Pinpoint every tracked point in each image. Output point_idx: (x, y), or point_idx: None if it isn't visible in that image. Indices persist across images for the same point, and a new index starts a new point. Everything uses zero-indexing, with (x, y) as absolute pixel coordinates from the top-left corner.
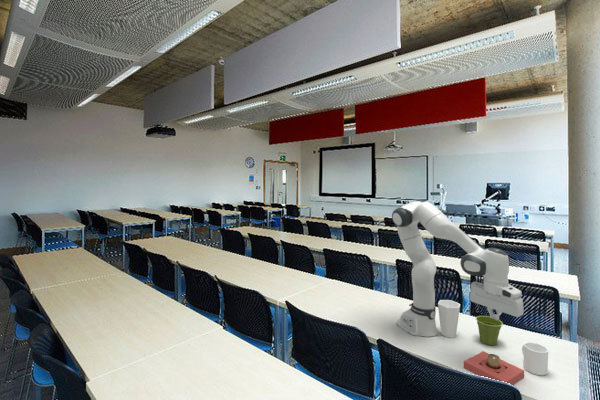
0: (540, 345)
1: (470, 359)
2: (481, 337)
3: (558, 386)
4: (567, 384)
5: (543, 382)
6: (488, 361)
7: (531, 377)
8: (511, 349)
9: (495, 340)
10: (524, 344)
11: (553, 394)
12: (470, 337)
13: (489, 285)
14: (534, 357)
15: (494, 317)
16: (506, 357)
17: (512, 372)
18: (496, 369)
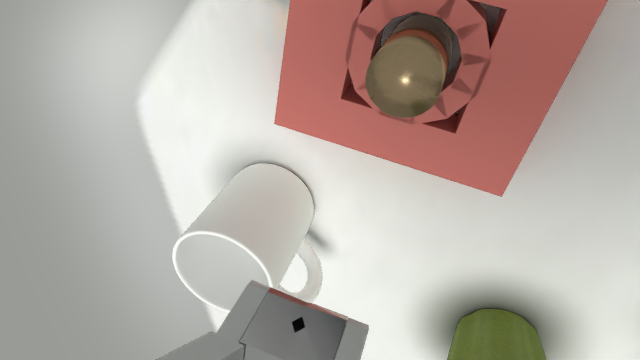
0: (219, 304)
1: (573, 30)
2: (531, 340)
3: (180, 127)
4: (168, 163)
5: (223, 119)
6: (438, 45)
7: (266, 129)
8: (390, 313)
9: (457, 337)
10: (268, 278)
11: (167, 46)
12: (595, 344)
13: None
14: (226, 208)
15: (276, 318)
16: (393, 239)
17: (308, 57)
18: (387, 21)
